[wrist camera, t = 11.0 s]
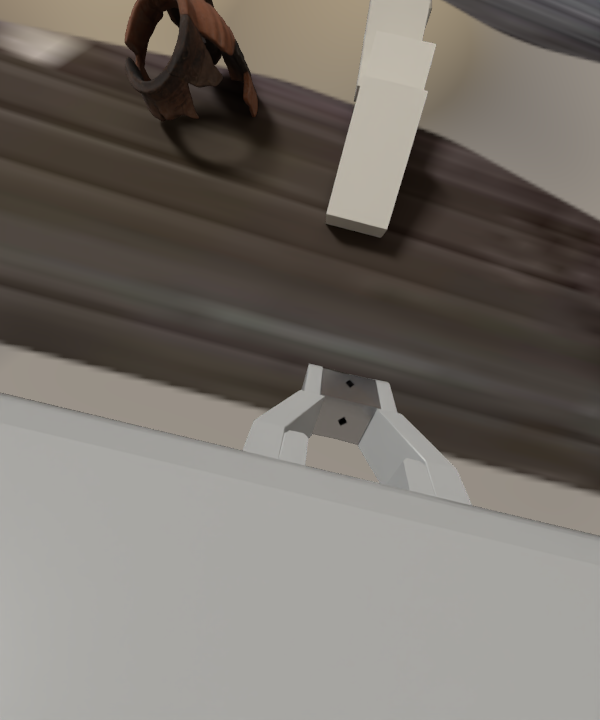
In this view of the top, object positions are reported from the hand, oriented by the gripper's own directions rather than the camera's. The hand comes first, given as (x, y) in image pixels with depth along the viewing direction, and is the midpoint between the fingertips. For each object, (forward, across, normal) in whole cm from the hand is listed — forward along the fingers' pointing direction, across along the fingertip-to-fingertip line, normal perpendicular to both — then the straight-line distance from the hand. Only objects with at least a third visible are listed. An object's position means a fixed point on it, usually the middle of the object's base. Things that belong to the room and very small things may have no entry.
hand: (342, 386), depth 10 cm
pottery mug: (+26, +16, -10) cm, 32 cm away
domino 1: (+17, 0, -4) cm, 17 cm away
